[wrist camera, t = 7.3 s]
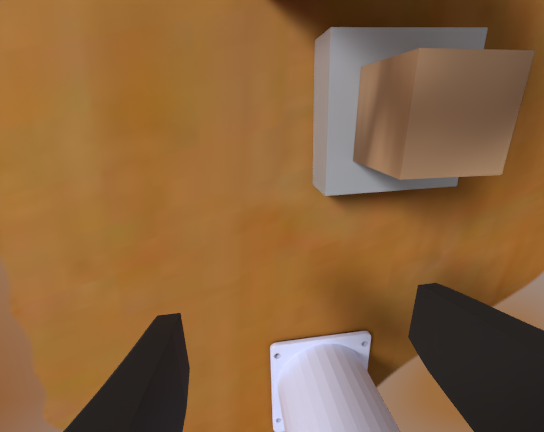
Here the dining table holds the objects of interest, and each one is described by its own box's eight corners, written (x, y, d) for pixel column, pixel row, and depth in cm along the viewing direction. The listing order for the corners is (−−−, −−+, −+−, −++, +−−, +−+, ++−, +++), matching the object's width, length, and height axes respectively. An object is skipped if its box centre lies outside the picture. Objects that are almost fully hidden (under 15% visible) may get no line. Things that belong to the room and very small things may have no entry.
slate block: (424, 175, 20) (456, 186, 17) (310, 183, 19) (325, 195, 16) (444, 41, 17) (487, 27, 14) (312, 41, 16) (330, 26, 13)
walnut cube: (429, 158, 16) (501, 174, 12) (352, 160, 15) (400, 179, 11) (445, 67, 14) (535, 50, 10) (361, 67, 14) (419, 48, 10)
